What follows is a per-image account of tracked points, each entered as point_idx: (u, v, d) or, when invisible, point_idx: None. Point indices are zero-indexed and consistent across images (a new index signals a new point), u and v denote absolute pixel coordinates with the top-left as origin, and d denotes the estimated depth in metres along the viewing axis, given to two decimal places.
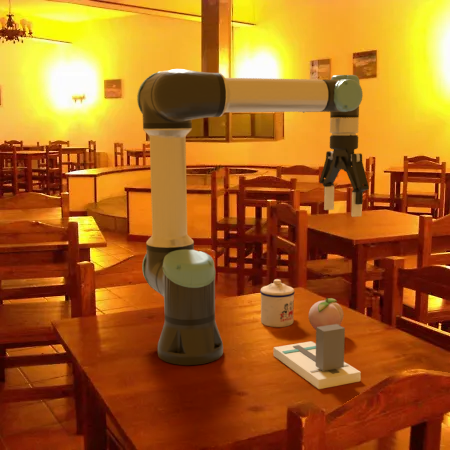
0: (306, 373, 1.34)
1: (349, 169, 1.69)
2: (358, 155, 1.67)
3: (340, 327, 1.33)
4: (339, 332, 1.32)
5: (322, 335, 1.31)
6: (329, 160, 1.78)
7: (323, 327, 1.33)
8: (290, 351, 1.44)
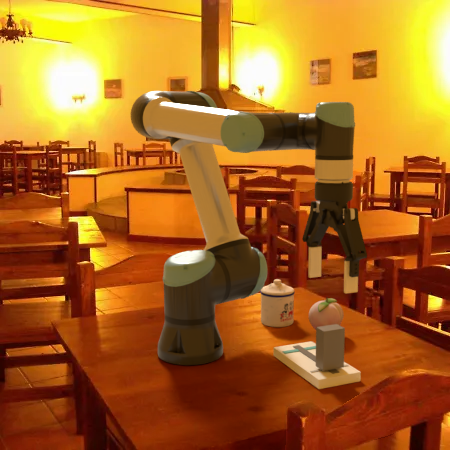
0: (306, 373, 1.34)
1: (341, 229, 1.25)
2: (353, 211, 1.23)
3: (340, 327, 1.33)
4: (339, 332, 1.32)
5: (322, 335, 1.31)
6: (315, 213, 1.34)
7: (323, 327, 1.33)
8: (290, 351, 1.44)
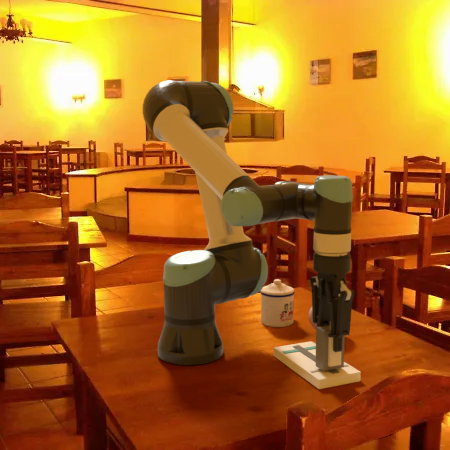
0: (306, 373, 1.34)
1: (333, 304, 1.30)
2: (349, 295, 1.26)
3: None
4: None
5: (322, 335, 1.31)
6: (316, 287, 1.36)
7: (323, 327, 1.33)
8: (290, 351, 1.44)
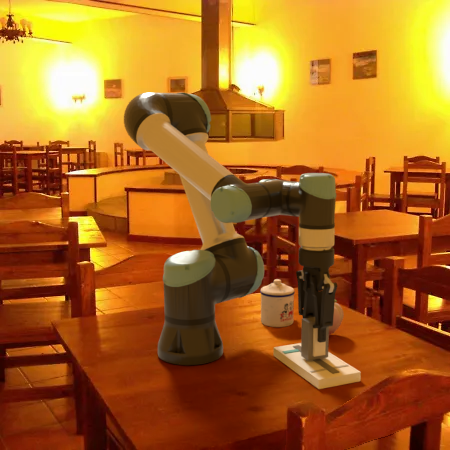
0: (306, 373, 1.34)
1: (318, 296, 1.35)
2: (332, 287, 1.31)
3: None
4: None
5: (307, 326, 1.37)
6: (302, 281, 1.41)
7: (308, 319, 1.39)
8: (290, 351, 1.44)
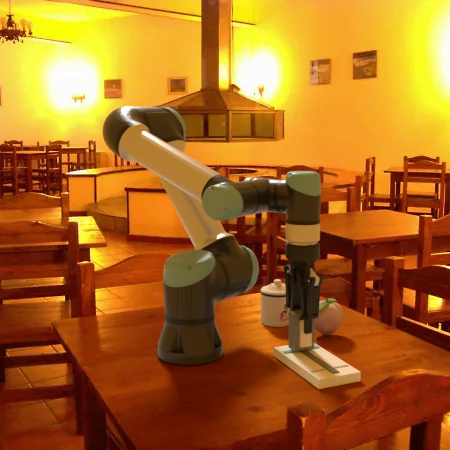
0: (306, 373, 1.34)
1: (304, 290, 1.40)
2: (317, 281, 1.37)
3: None
4: None
5: (294, 318, 1.42)
6: (289, 275, 1.47)
7: (295, 311, 1.44)
8: (290, 351, 1.44)
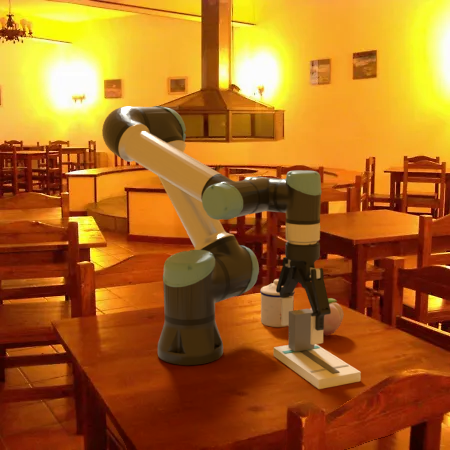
0: (306, 373, 1.34)
1: (308, 286, 1.39)
2: (318, 271, 1.36)
3: (311, 311, 1.44)
4: (309, 316, 1.43)
5: (294, 318, 1.42)
6: (286, 268, 1.48)
7: (295, 311, 1.44)
8: (290, 351, 1.44)
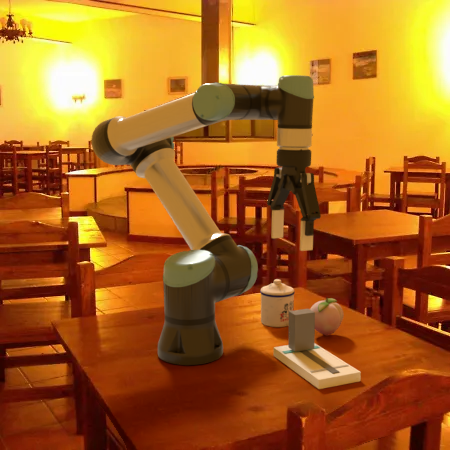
0: (306, 373, 1.34)
1: (298, 192, 1.37)
2: (309, 176, 1.35)
3: (311, 311, 1.44)
4: (309, 316, 1.43)
5: (294, 318, 1.42)
6: (277, 178, 1.46)
7: (295, 311, 1.44)
8: (290, 351, 1.44)
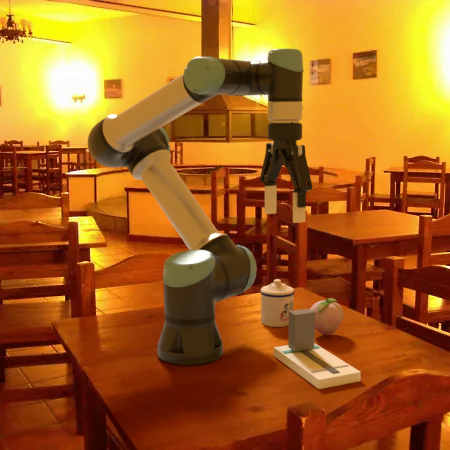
0: (306, 373, 1.34)
1: (290, 164, 1.38)
2: (300, 147, 1.35)
3: (311, 311, 1.44)
4: (309, 316, 1.43)
5: (294, 318, 1.42)
6: (269, 154, 1.47)
7: (295, 311, 1.44)
8: (290, 351, 1.44)
